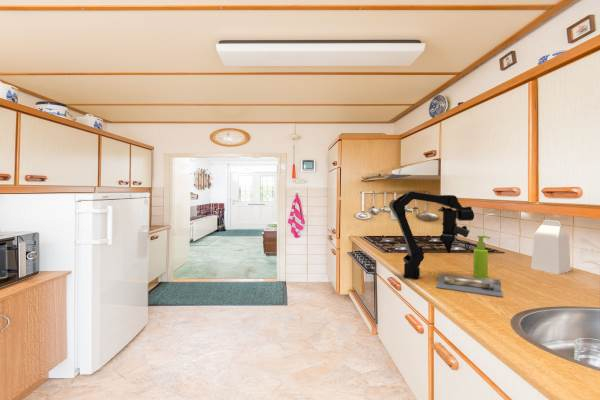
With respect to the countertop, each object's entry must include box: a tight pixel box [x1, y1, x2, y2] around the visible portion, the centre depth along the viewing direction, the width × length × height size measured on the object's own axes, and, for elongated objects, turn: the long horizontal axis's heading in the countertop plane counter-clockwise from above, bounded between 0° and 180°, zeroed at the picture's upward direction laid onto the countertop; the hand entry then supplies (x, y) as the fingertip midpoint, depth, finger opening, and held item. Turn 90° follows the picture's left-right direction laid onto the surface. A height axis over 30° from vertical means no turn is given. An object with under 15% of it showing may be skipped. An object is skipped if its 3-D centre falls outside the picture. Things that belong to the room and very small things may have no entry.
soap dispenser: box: [473, 235, 491, 279], centre depth 141 cm, size 6×7×20 cm
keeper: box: [480, 277, 502, 292], centre depth 123 cm, size 7×5×4 cm
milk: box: [530, 219, 571, 275], centre depth 151 cm, size 12×12×26 cm
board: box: [435, 273, 504, 298], centre depth 130 cm, size 24×22×1 cm
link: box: [445, 276, 490, 288], centre depth 128 cm, size 17×4×3 cm, turn 64°
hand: (449, 252), depth 141 cm, fingers closed
